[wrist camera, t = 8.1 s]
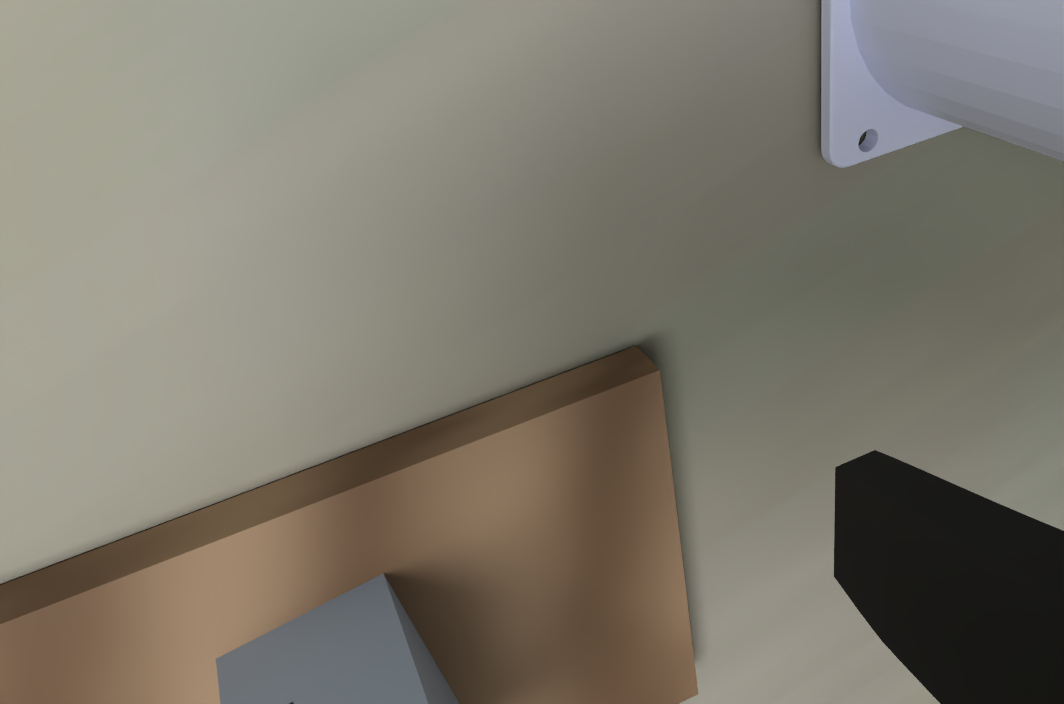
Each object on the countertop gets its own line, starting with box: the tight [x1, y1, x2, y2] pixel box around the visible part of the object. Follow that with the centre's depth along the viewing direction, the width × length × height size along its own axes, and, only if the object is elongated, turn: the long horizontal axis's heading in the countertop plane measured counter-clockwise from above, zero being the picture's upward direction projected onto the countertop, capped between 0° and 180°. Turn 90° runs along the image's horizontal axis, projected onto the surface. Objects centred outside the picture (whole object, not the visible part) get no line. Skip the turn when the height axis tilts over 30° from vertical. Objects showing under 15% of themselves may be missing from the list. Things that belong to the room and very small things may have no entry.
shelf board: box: [0, 346, 698, 704], centre depth 23 cm, size 16×12×1 cm
